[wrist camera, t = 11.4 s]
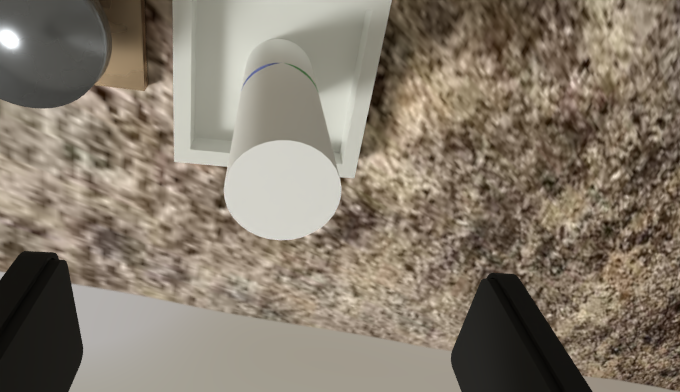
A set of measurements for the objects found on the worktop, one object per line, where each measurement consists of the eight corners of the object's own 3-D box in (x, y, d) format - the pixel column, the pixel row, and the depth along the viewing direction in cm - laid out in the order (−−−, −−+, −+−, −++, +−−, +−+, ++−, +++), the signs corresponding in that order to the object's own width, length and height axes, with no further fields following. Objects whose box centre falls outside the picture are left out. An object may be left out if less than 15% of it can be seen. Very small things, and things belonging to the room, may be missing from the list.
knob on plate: (142, -54, 26) (106, -44, 20) (148, 85, 30) (118, 126, 24) (-20, -83, 24) (-108, -81, 19) (9, 69, 28) (-57, 107, 23)
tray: (384, -12, 28) (393, -6, 26) (349, 161, 34) (354, 178, 32) (180, -48, 26) (171, -44, 24) (180, 145, 32) (174, 161, 30)
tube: (308, 107, 31) (332, 242, 19) (243, 101, 30) (222, 237, 18) (316, 43, 29) (349, 145, 16) (246, 34, 28) (225, 134, 16)
